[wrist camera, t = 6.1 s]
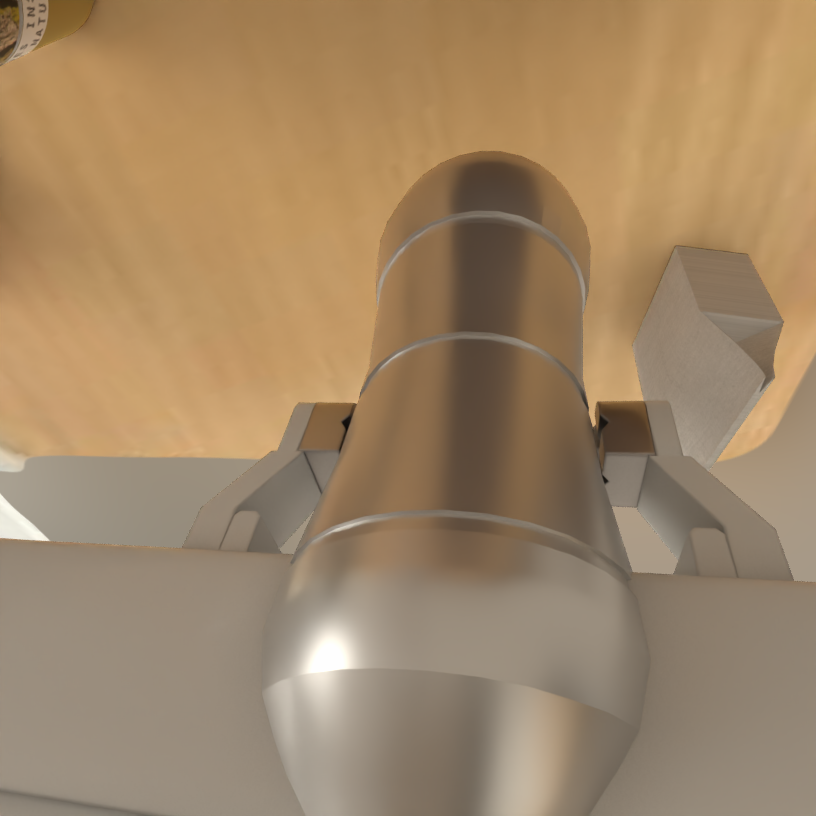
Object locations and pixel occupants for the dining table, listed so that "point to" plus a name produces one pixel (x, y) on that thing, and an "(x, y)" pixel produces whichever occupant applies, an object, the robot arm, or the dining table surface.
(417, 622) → the silver metal bottle
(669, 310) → the paper bag
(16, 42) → the wooden log
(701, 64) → the dining table surface
